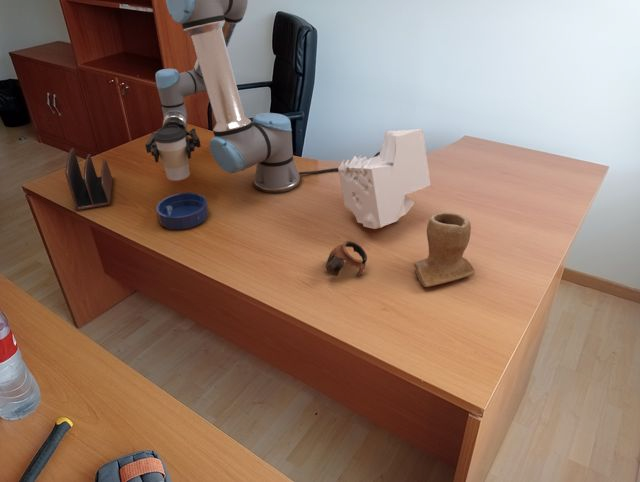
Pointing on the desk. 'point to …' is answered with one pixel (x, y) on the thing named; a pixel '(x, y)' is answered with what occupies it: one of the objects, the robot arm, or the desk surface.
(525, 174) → the desk surface
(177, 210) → the bowl
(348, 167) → the jagged white plaster chunk
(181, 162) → the coffee cup
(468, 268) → the stone cup
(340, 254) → the brown curved piece
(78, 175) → the letter holder
